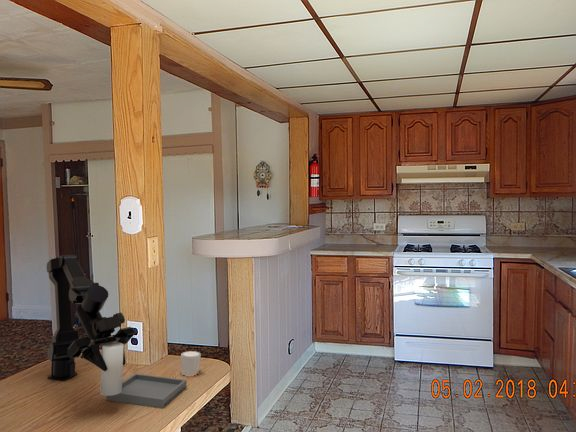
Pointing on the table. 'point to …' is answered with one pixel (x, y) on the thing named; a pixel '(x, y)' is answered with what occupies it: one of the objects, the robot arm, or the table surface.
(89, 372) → the table surface
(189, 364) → the shot glass
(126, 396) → the tray
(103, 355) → the candle
